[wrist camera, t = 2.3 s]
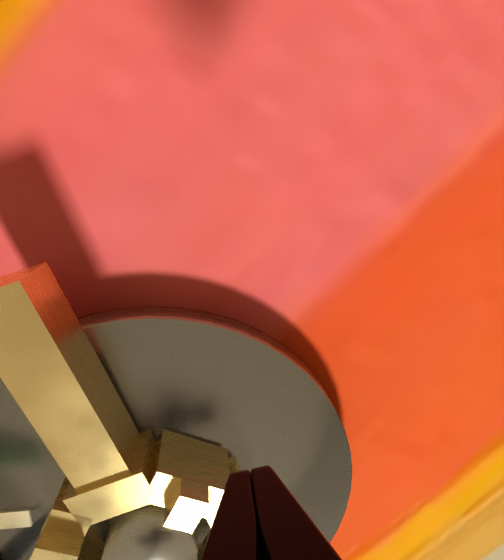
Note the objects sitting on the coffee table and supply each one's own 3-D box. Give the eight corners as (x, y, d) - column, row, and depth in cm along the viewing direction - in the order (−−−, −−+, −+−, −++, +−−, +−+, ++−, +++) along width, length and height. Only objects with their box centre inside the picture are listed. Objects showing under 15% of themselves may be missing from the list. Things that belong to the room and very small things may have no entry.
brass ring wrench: (272, 540, 20) (285, 610, 17) (107, 600, 20) (90, 681, 17) (136, 230, 14) (118, 251, 11) (-103, 312, 14) (-190, 357, 11)
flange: (362, 553, 24) (396, 639, 19) (49, 646, 23) (14, 759, 19) (309, 258, 17) (345, 293, 13) (-141, 374, 16) (-263, 453, 12)
